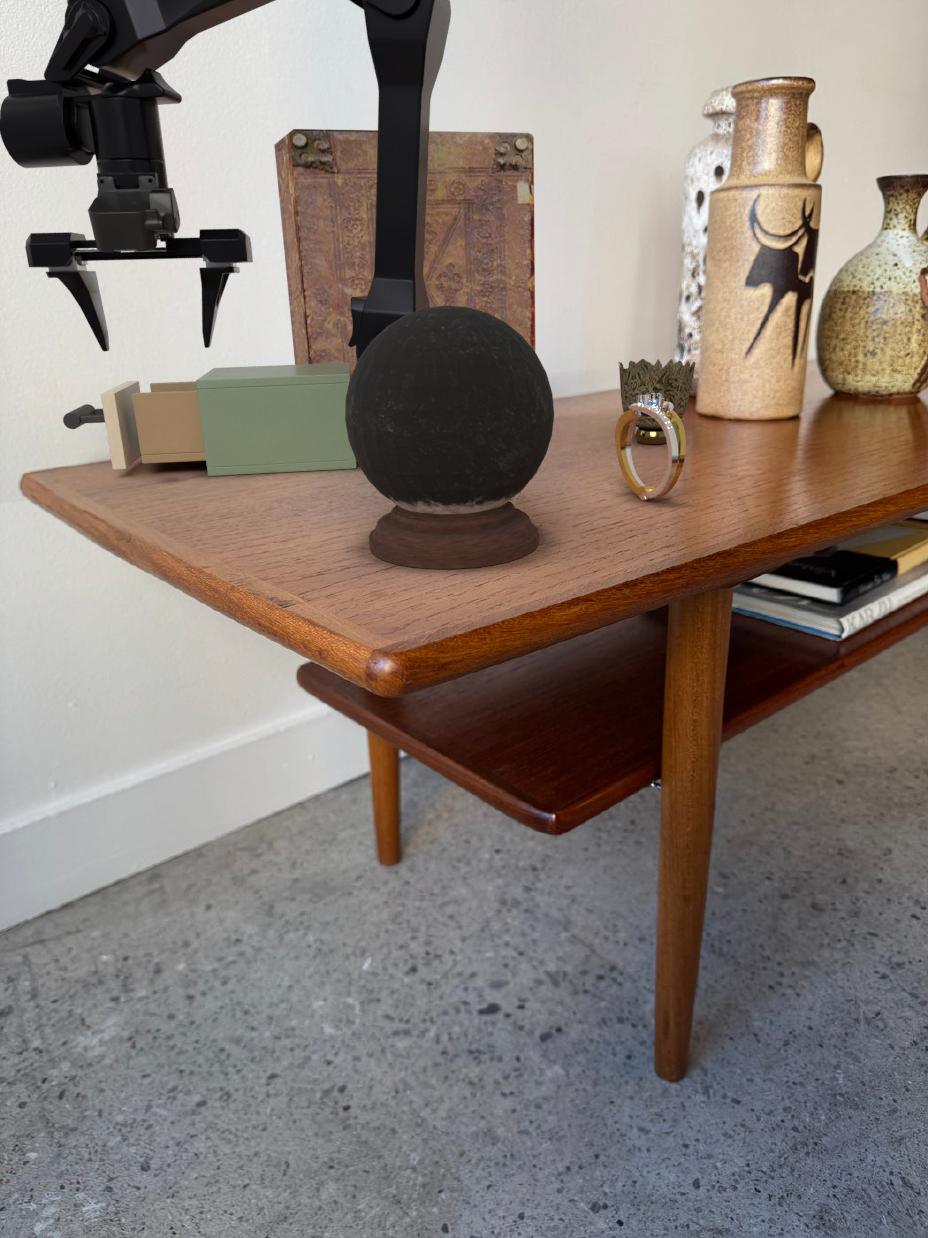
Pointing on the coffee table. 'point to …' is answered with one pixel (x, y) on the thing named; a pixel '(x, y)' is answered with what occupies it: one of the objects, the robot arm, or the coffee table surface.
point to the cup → (655, 379)
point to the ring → (673, 437)
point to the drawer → (147, 423)
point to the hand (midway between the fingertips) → (157, 349)
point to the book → (454, 230)
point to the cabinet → (275, 418)
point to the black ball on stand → (450, 436)
